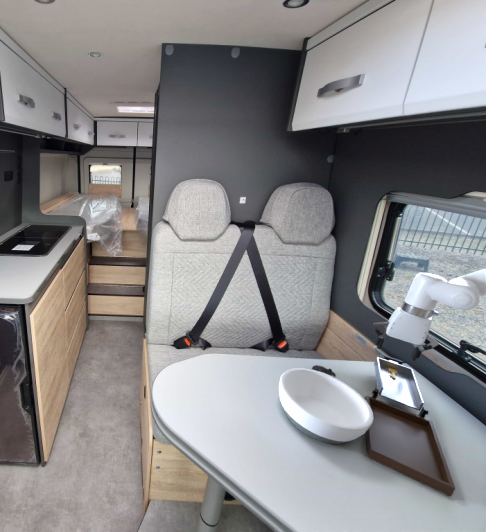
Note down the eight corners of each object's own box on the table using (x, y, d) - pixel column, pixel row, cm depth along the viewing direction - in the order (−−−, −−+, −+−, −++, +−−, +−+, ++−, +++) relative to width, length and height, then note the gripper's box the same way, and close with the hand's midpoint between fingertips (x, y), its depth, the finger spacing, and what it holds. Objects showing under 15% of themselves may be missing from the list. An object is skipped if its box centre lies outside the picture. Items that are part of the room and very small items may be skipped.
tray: (363, 401, 96) (366, 394, 95) (428, 427, 88) (432, 421, 87) (367, 456, 77) (370, 449, 76) (450, 496, 69) (455, 488, 68)
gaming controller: (311, 365, 109) (328, 360, 106) (319, 378, 109) (337, 373, 106) (310, 380, 101) (329, 375, 98) (319, 394, 101) (338, 390, 98)
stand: (367, 399, 97) (373, 387, 95) (421, 421, 90) (428, 408, 88) (368, 403, 95) (374, 390, 94) (422, 425, 89) (429, 412, 87)
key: (387, 368, 107) (388, 367, 107) (396, 371, 106) (396, 370, 105) (389, 377, 102) (390, 376, 102) (398, 380, 101) (399, 379, 101)
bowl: (278, 437, 80) (287, 412, 77) (269, 381, 101) (275, 360, 98) (377, 466, 75) (390, 441, 72) (346, 401, 95) (355, 379, 92)
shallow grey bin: (373, 359, 112) (376, 351, 111) (407, 370, 107) (411, 363, 106) (378, 394, 94) (382, 386, 93) (419, 411, 89) (424, 402, 88)
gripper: (448, 315, 100) (425, 358, 106) (382, 297, 108) (365, 338, 115) (454, 324, 94) (429, 369, 100) (385, 304, 102) (365, 347, 109)
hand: (395, 352), depth 107 cm, fingers open, 9 cm apart
